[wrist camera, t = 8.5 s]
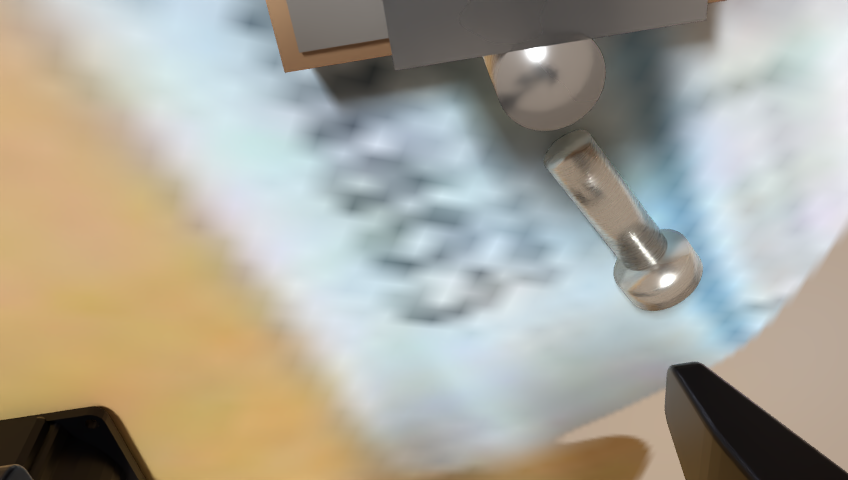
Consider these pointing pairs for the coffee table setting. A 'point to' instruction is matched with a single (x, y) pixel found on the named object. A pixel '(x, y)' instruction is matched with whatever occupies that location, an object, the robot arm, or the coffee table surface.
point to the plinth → (330, 31)
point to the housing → (528, 46)
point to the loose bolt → (625, 225)
